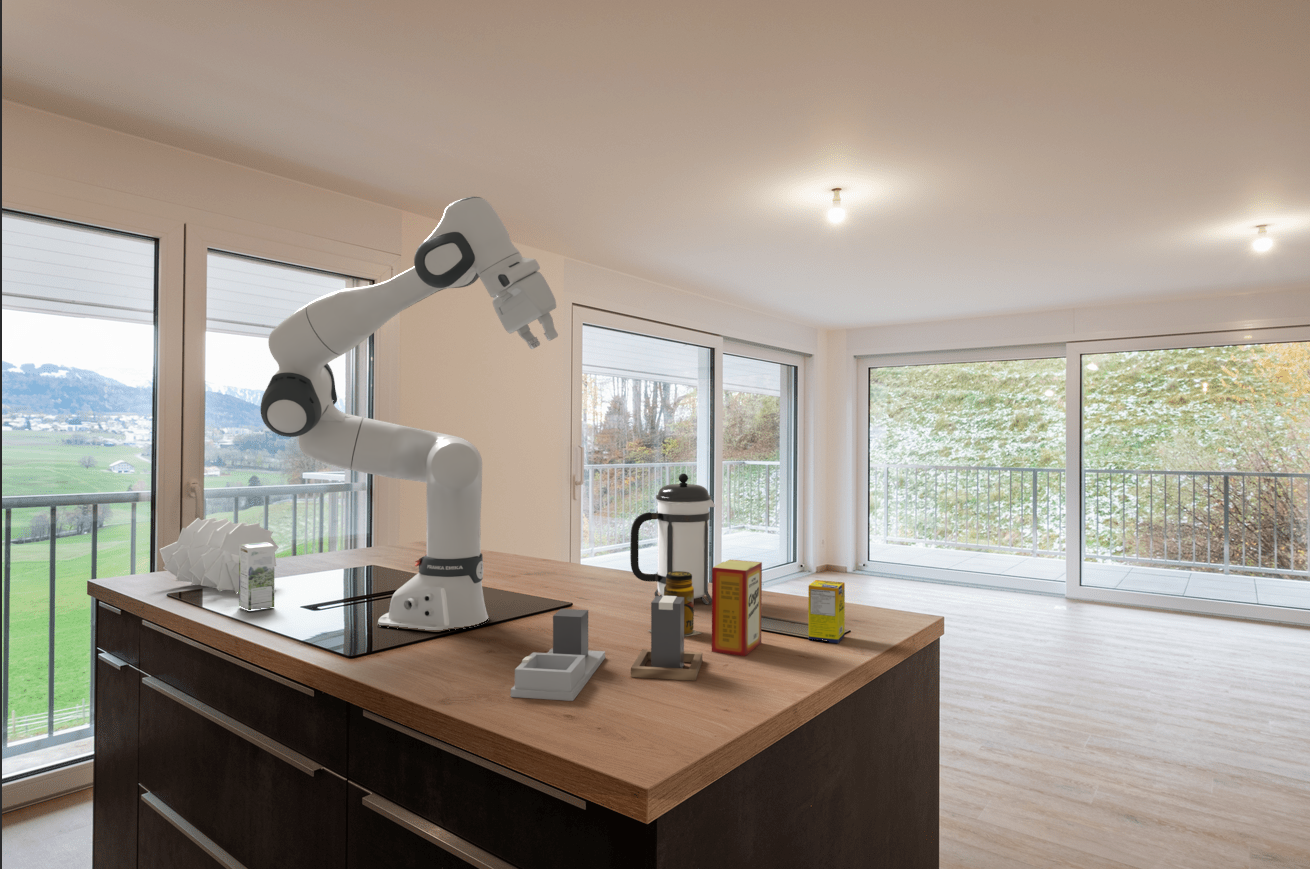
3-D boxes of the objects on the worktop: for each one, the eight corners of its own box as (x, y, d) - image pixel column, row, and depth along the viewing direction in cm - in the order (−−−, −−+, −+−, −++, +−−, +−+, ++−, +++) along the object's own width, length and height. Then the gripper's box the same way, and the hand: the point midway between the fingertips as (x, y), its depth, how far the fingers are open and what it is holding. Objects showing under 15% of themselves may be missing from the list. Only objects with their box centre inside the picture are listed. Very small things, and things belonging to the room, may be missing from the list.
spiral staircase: (210, 595, 211) (269, 602, 198) (145, 577, 197) (205, 583, 185) (236, 529, 218) (295, 531, 205) (175, 506, 204) (234, 507, 191)
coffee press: (670, 590, 201) (671, 470, 201) (726, 598, 192) (727, 473, 191) (628, 603, 187) (628, 474, 186) (685, 613, 178) (686, 477, 177)
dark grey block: (651, 672, 137) (651, 601, 137) (655, 663, 142) (656, 595, 142) (680, 674, 137) (680, 603, 136) (683, 665, 142) (684, 596, 141)
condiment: (702, 633, 162) (702, 574, 162) (667, 640, 157) (667, 579, 157) (681, 625, 168) (681, 568, 168) (647, 631, 163) (647, 572, 163)
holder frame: (630, 676, 135) (630, 668, 135) (642, 657, 146) (642, 649, 146) (695, 680, 133) (695, 671, 133) (702, 660, 144) (702, 652, 144)
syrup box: (265, 604, 185) (264, 541, 185) (275, 608, 181) (274, 544, 181) (238, 608, 181) (238, 544, 181) (248, 613, 177) (247, 547, 176)
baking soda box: (729, 638, 158) (729, 557, 158) (761, 643, 155) (761, 560, 155) (711, 651, 150) (712, 565, 149) (745, 656, 147) (745, 568, 146)
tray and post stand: (573, 700, 124) (573, 641, 123) (510, 696, 125) (510, 638, 125) (605, 657, 145) (605, 607, 145) (551, 655, 147) (551, 604, 147)
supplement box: (844, 636, 160) (845, 581, 160) (838, 644, 155) (838, 587, 154) (815, 633, 163) (815, 579, 162) (807, 640, 157) (808, 584, 157)
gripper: (477, 297, 159) (513, 359, 161) (510, 271, 141) (550, 341, 143) (503, 284, 161) (538, 344, 164) (539, 256, 143) (578, 325, 146)
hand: (544, 343), depth 153 cm, fingers open, 8 cm apart
